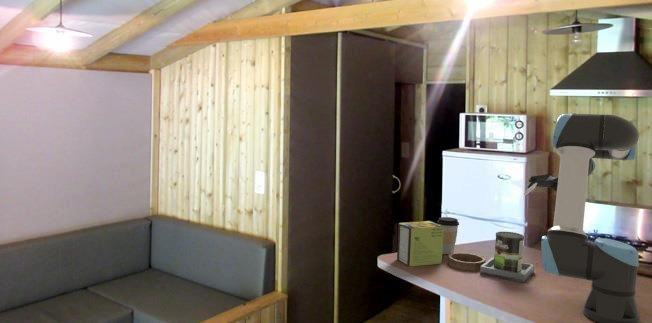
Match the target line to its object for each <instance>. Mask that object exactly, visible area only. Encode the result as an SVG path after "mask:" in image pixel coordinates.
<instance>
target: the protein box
mask: <svg viewBox="0 0 652 323" xmlns="http://www.w3.org/2000/svg"><path fill="white" fill-rule="evenodd" d="M443 230H444V226H441V225H439V224H438V223H437V222H434V221H431V220H426V221H409V222H399V223H398V227H397V250H396V251H397V252H396V260H397V261H399V262H400V263H402V264H404V265H405V266H408V267H419V266H420V267H421V266H429V265H439V264H440V265H441V264H442V263H443V254H442V249H443Z"/></svg>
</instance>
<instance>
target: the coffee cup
mask: <svg viewBox="0 0 652 323" xmlns="http://www.w3.org/2000/svg"><path fill="white" fill-rule="evenodd" d="M458 220H459V219H457V218H455V217H449V216H442V217H439V218H438V220H437V221H436V224H439V225H441V226H444V230H443V249H442V255H446V254H448V255H450V254H452V253H455V252H454V251H455V248H456V243H457V236H458V227H459V225H460V222H459V221H458Z"/></svg>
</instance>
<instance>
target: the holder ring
mask: <svg viewBox="0 0 652 323" xmlns="http://www.w3.org/2000/svg"><path fill="white" fill-rule="evenodd" d="M447 257H448V258H447V264H448V265H449V267H452V268H454V269H458V270H461V271H462V270H463V271H474V272H475V271H480V266H482V265H483V264H484V263H486V262H487V261H486V258H485V257H484V256H481V255H479V254H474V253H470V252H454V253H452V254H450V255H448V256H447ZM461 260H465V261H461Z"/></svg>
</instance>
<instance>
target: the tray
mask: <svg viewBox="0 0 652 323" xmlns="http://www.w3.org/2000/svg"><path fill="white" fill-rule="evenodd" d="M534 271H535V264H532V263H526V262H522V267H521V273H516V272H511V271H506V270H500V269H495V268H494V257H493V256H492V257H490V258H489V259H488V260H487V261H486V263H484V264H483V265H482V266H480V270H479V274H480V275H482V276H487V275H488V277H492V276H493V278H497V277H498V278H497V279H502V280H507V281H511V280H512V282H516V283H517V282H518V283H522V284H525V282H527V280H528V279H529V278H530V277H531V276H532V275H533V274H534Z"/></svg>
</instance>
